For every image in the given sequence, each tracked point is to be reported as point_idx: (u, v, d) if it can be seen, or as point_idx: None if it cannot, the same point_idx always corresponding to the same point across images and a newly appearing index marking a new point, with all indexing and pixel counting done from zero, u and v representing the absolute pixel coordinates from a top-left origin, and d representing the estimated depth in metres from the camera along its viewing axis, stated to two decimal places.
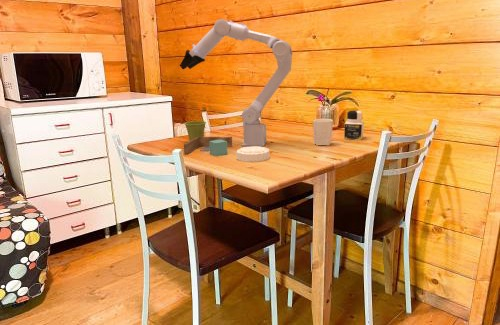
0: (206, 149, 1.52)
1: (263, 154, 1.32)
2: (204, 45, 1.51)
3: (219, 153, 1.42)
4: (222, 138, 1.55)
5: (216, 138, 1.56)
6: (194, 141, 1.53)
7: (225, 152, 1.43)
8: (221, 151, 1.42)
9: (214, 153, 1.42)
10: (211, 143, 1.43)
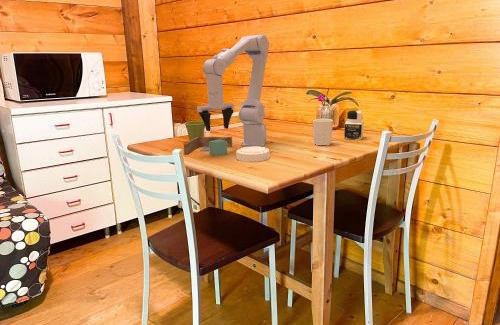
0: (206, 149, 1.52)
1: (263, 154, 1.32)
2: None
3: (219, 153, 1.42)
4: (222, 138, 1.55)
5: (216, 138, 1.56)
6: (194, 141, 1.53)
7: (225, 152, 1.43)
8: (221, 151, 1.42)
9: (214, 153, 1.42)
10: (211, 143, 1.43)
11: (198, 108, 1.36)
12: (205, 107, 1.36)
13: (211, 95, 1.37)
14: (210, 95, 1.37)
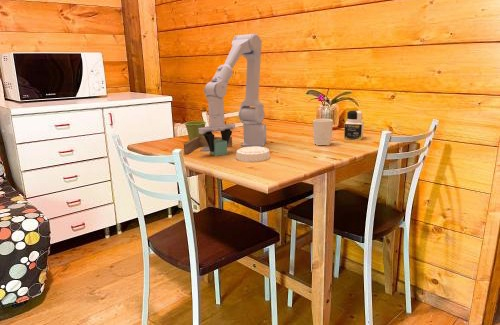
0: (206, 149, 1.52)
1: (263, 154, 1.32)
2: None
3: (219, 153, 1.42)
4: None
5: (216, 138, 1.56)
6: (194, 141, 1.53)
7: (225, 152, 1.43)
8: (221, 151, 1.42)
9: (214, 153, 1.42)
10: None
11: (199, 130, 1.38)
12: (206, 129, 1.38)
13: (212, 117, 1.39)
14: (211, 117, 1.39)
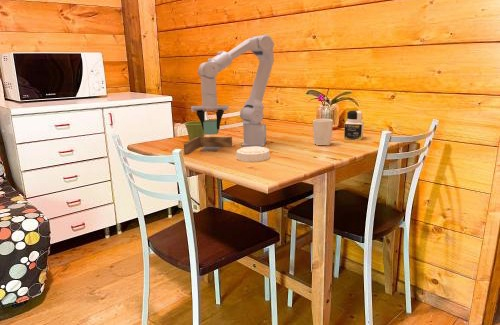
0: (206, 149, 1.52)
1: (263, 154, 1.32)
2: (216, 95, 1.46)
3: (207, 132, 1.47)
4: (222, 138, 1.55)
5: (216, 138, 1.56)
6: (194, 141, 1.53)
7: (214, 132, 1.47)
8: (209, 130, 1.47)
9: None
10: None
11: None
12: (196, 107, 1.46)
13: (202, 96, 1.45)
14: (202, 96, 1.45)
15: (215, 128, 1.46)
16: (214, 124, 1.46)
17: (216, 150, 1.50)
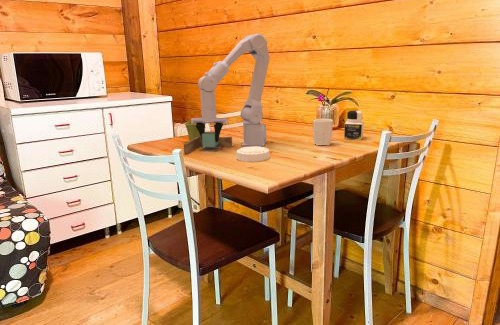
0: (206, 149, 1.52)
1: (263, 154, 1.32)
2: (215, 108, 1.49)
3: (206, 144, 1.50)
4: (222, 138, 1.55)
5: None
6: (194, 141, 1.53)
7: (212, 144, 1.50)
8: (207, 143, 1.50)
9: None
10: None
11: None
12: (195, 120, 1.50)
13: (201, 109, 1.48)
14: (201, 109, 1.48)
15: (213, 140, 1.49)
16: (212, 136, 1.49)
17: (216, 150, 1.50)
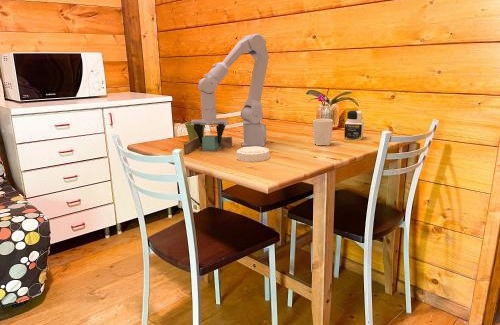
0: None
1: (263, 154, 1.32)
2: (215, 110, 1.49)
3: (206, 148, 1.51)
4: (222, 138, 1.55)
5: None
6: (194, 141, 1.53)
7: (212, 148, 1.50)
8: (208, 146, 1.50)
9: None
10: None
11: None
12: (196, 121, 1.50)
13: (201, 111, 1.48)
14: (201, 111, 1.49)
15: (213, 144, 1.49)
16: (212, 140, 1.49)
17: (216, 150, 1.50)
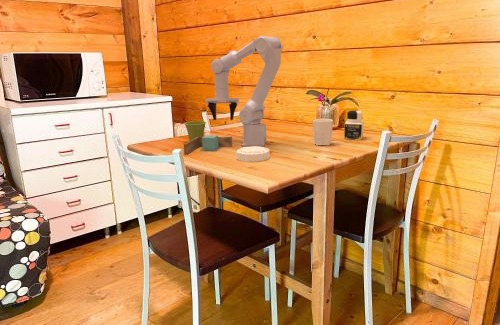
0: None
1: (263, 154, 1.32)
2: (228, 89, 1.62)
3: (206, 148, 1.51)
4: (222, 138, 1.55)
5: None
6: (194, 141, 1.53)
7: (212, 148, 1.50)
8: (208, 146, 1.50)
9: None
10: None
11: None
12: (210, 100, 1.64)
13: (215, 90, 1.62)
14: (215, 90, 1.62)
15: (213, 144, 1.49)
16: (212, 140, 1.49)
17: (216, 150, 1.50)
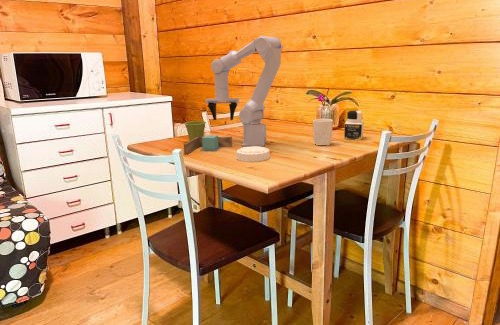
0: None
1: (263, 154, 1.32)
2: (228, 89, 1.62)
3: (206, 148, 1.51)
4: (222, 138, 1.55)
5: None
6: (194, 141, 1.53)
7: (212, 148, 1.50)
8: (208, 146, 1.50)
9: None
10: None
11: None
12: (210, 100, 1.64)
13: (215, 90, 1.62)
14: (215, 90, 1.62)
15: (213, 144, 1.49)
16: (212, 140, 1.49)
17: (216, 150, 1.50)
